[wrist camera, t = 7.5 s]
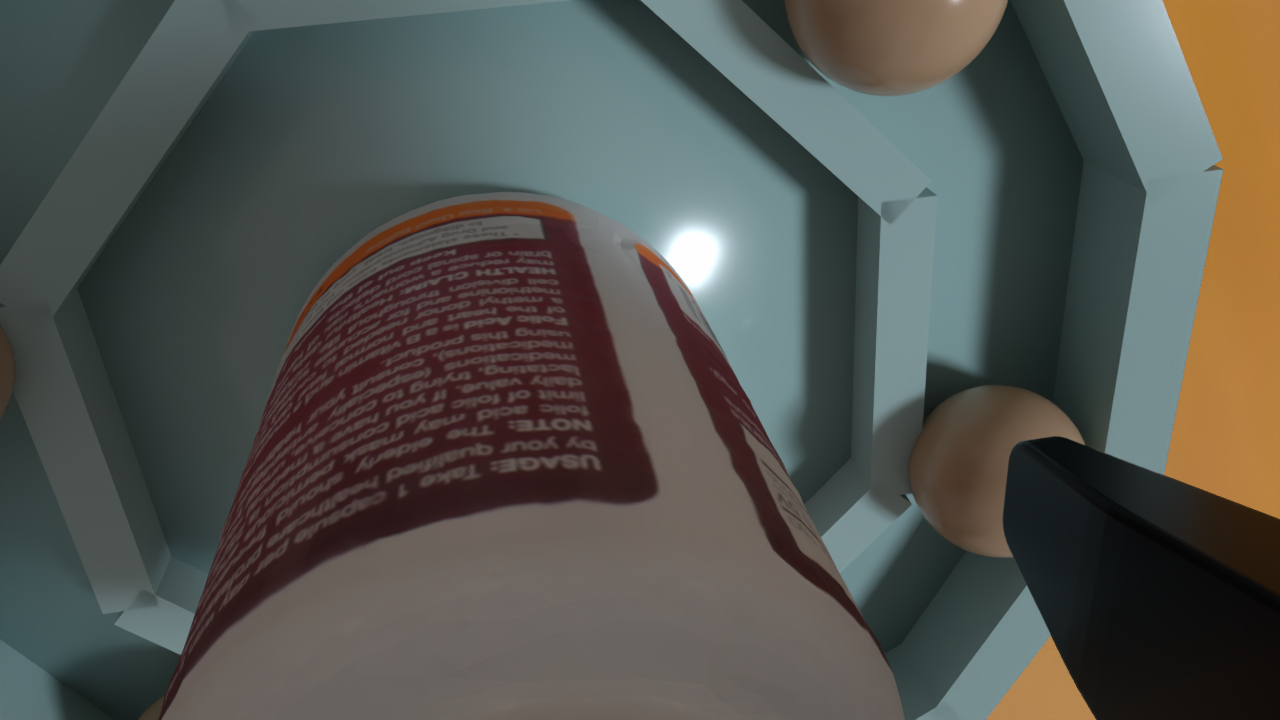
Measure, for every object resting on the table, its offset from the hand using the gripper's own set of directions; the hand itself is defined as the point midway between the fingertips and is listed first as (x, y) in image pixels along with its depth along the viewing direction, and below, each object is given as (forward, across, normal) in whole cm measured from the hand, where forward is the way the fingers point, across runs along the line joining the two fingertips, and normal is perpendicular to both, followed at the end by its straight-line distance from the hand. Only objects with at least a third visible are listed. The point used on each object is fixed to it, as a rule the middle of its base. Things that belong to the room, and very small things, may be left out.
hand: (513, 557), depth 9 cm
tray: (+4, 0, 0) cm, 4 cm away
